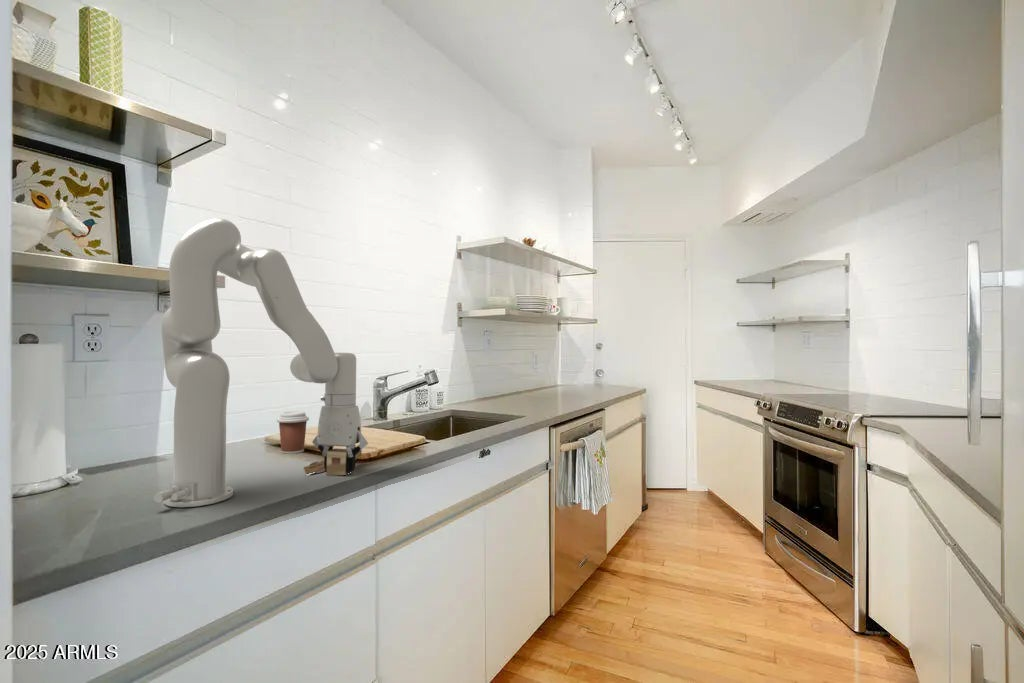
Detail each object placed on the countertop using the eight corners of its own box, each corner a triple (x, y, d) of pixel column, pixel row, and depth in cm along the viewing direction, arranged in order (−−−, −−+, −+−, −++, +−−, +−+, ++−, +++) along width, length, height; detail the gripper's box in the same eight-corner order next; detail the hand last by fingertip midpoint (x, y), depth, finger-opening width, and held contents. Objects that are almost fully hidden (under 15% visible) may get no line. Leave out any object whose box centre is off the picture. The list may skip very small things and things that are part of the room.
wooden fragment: (340, 454, 154) (340, 450, 154) (373, 456, 151) (373, 453, 151) (283, 476, 128) (283, 471, 128) (322, 479, 126) (322, 474, 126)
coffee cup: (269, 452, 153) (270, 413, 154) (294, 447, 162) (295, 409, 162) (290, 456, 149) (290, 415, 149) (315, 450, 157) (315, 411, 157)
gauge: (345, 476, 127) (345, 452, 127) (326, 475, 128) (326, 451, 128) (365, 465, 139) (366, 443, 139) (348, 464, 140) (349, 442, 140)
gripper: (301, 401, 127) (300, 473, 127) (365, 403, 125) (364, 476, 125) (317, 398, 135) (316, 466, 135) (378, 400, 132) (377, 469, 132)
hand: (339, 470), depth 130 cm, fingers closed on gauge, 5 cm apart
